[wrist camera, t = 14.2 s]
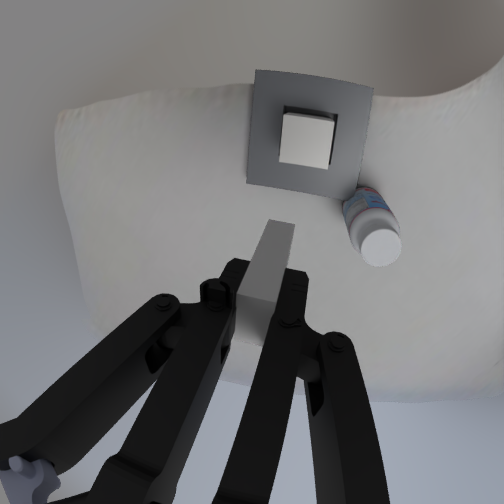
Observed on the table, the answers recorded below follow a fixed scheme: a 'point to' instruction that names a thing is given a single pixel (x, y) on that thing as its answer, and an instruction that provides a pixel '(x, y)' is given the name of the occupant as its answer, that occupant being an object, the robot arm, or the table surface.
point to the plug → (306, 139)
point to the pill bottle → (372, 227)
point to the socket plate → (317, 103)
